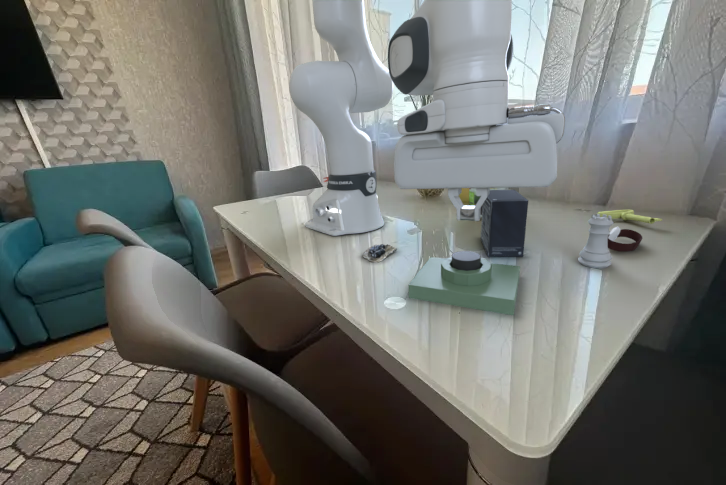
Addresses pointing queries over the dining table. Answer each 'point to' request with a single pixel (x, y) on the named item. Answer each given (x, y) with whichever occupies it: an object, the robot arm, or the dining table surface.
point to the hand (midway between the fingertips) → (468, 219)
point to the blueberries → (378, 252)
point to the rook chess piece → (597, 243)
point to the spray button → (466, 260)
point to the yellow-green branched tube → (628, 216)
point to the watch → (623, 233)
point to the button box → (467, 285)
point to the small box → (504, 223)
